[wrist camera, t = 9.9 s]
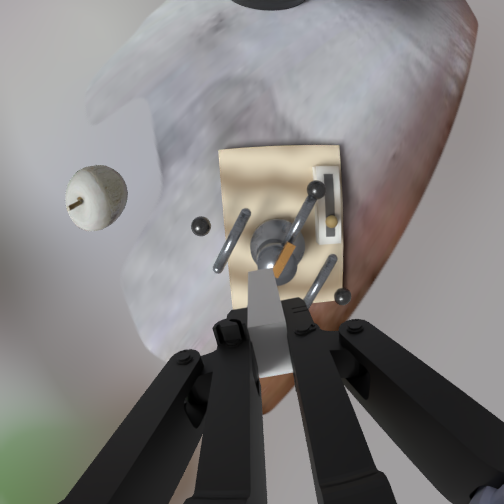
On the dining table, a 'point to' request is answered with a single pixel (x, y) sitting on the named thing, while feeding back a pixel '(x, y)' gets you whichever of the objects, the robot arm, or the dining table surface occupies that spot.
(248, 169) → the stand
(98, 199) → the decorative object
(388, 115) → the dining table surface
